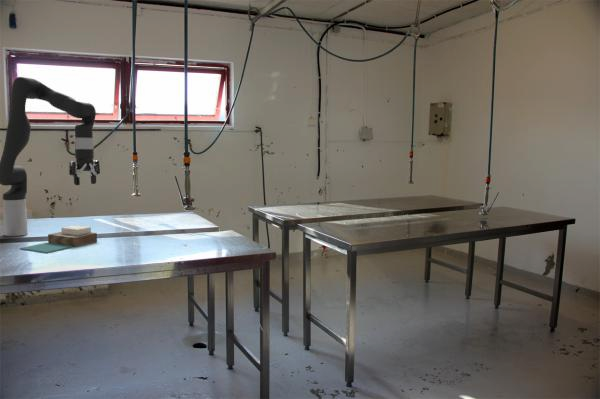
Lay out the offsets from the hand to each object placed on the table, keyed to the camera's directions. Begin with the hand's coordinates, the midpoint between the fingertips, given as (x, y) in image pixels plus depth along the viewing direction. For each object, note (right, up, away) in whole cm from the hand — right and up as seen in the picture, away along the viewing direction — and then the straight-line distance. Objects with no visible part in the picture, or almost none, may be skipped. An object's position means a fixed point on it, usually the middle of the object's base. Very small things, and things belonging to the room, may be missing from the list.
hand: (85, 184), depth 206 cm
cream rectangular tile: (-4, -22, +1) cm, 22 cm away
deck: (-5, -26, -1) cm, 26 cm away
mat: (-10, -27, -13) cm, 32 cm away
